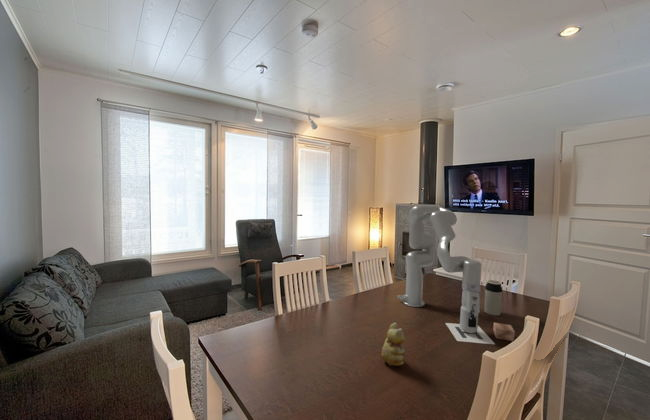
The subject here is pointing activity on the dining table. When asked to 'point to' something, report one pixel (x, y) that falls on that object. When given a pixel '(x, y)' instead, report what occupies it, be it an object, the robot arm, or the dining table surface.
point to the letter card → (469, 334)
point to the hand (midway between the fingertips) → (468, 322)
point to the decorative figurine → (393, 346)
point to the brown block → (503, 331)
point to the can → (466, 320)
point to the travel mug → (493, 297)
